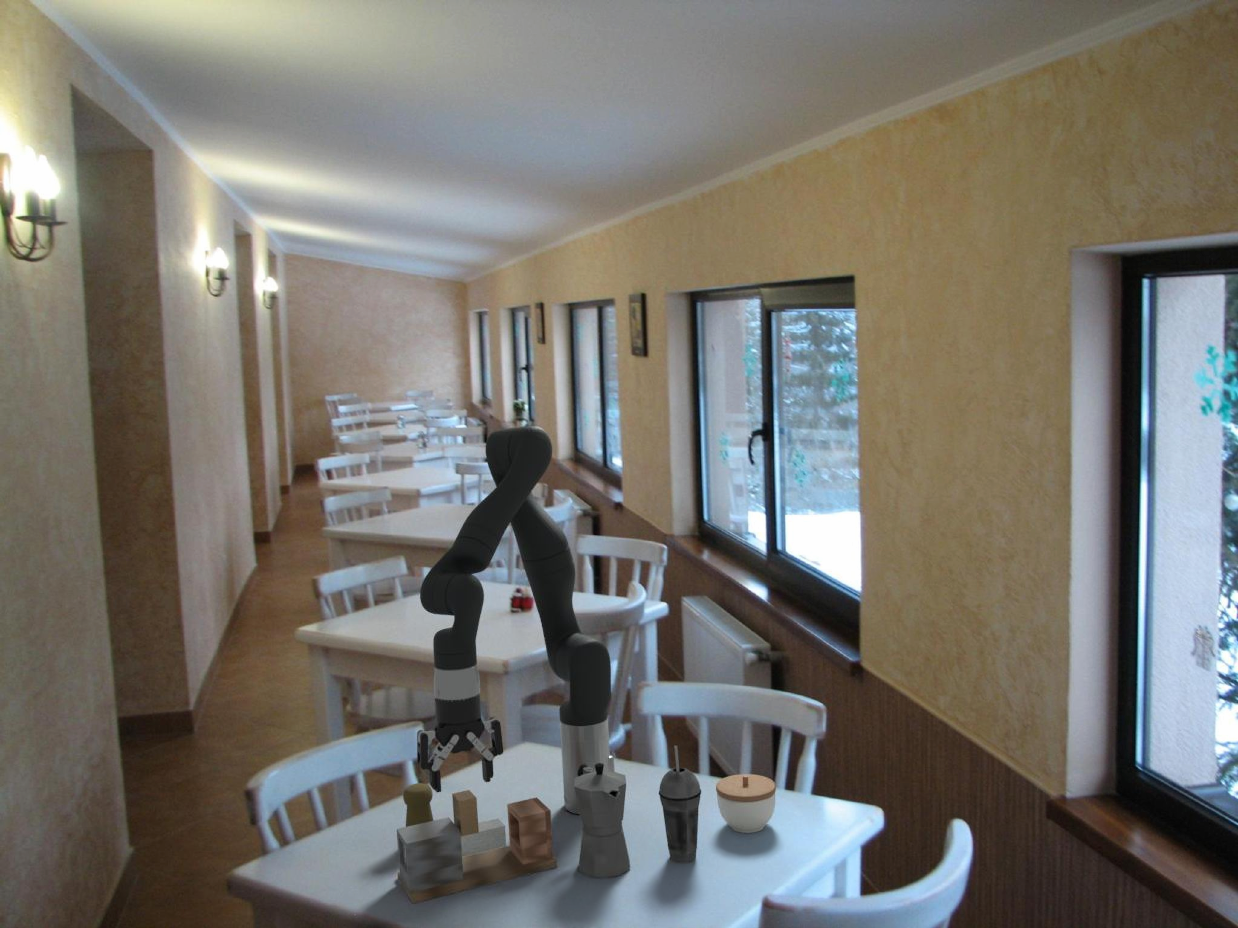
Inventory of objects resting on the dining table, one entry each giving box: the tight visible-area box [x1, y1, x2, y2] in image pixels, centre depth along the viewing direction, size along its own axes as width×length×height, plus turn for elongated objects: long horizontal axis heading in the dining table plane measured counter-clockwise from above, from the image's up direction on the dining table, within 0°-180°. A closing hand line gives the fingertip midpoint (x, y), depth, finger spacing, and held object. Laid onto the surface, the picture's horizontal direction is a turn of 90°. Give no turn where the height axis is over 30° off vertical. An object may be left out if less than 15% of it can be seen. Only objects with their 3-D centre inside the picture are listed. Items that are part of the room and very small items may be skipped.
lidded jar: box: [715, 773, 777, 834], centre depth 201 cm, size 11×11×9 cm
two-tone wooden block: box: [403, 789, 507, 865], centre depth 186 cm, size 17×4×10 cm, turn 115°
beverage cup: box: [658, 745, 702, 864], centre depth 189 cm, size 7×7×20 cm
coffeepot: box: [574, 763, 631, 879], centre depth 188 cm, size 15×9×18 cm, turn 25°
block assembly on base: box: [396, 796, 558, 904], centre depth 188 cm, size 25×10×9 cm, turn 115°
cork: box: [402, 782, 435, 827], centre depth 200 cm, size 6×6×11 cm
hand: (462, 785), depth 186 cm, fingers open, 8 cm apart
